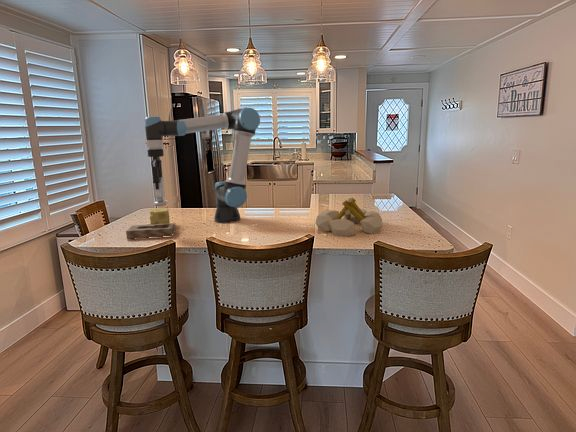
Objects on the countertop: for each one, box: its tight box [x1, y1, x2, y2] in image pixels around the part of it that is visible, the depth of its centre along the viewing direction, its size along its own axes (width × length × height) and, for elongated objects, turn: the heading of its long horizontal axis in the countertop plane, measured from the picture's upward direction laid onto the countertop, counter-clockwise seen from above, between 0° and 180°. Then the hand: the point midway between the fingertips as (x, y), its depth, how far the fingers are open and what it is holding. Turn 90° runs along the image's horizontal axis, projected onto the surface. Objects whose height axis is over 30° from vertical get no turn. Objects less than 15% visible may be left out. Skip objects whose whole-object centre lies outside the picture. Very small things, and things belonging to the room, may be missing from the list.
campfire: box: [315, 197, 383, 237], centre depth 211 cm, size 35×34×17 cm
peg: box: [152, 176, 167, 207], centre depth 206 cm, size 6×6×14 cm
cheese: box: [149, 207, 170, 224], centre depth 227 cm, size 10×11×10 cm
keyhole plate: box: [125, 222, 176, 240], centre depth 210 cm, size 22×12×4 cm, turn 96°
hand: (159, 194), depth 206 cm, fingers closed on peg, 4 cm apart
